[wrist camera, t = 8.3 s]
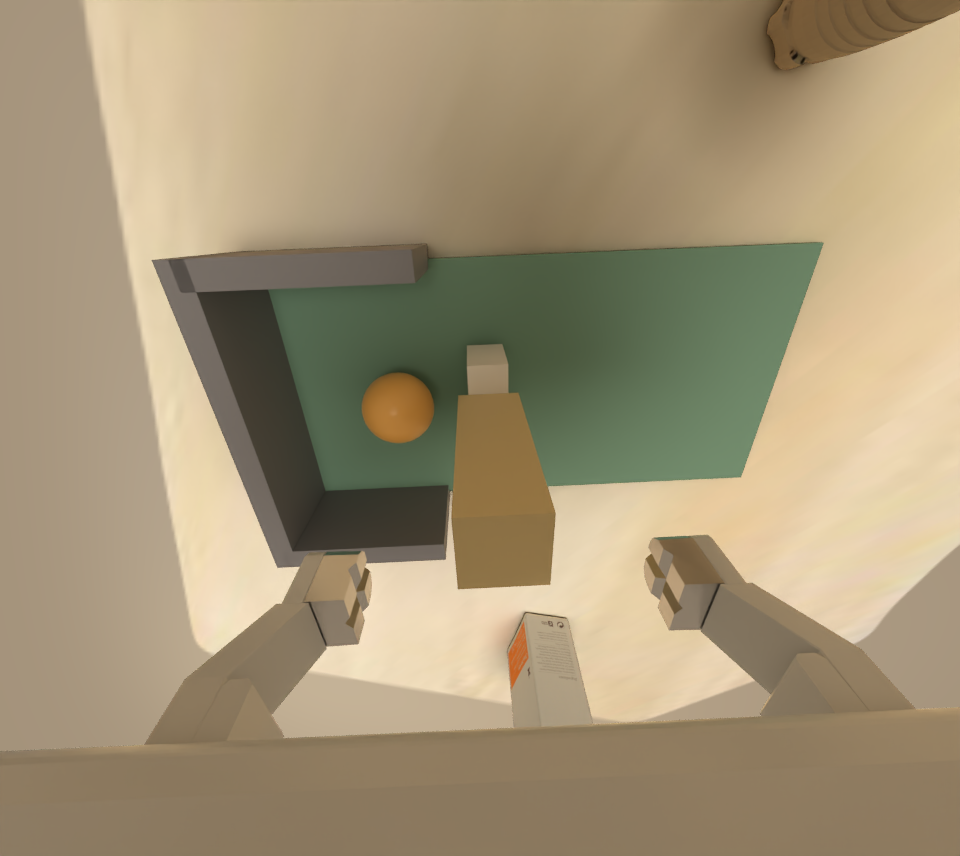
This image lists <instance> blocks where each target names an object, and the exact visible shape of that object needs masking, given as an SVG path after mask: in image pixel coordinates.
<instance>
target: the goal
mask: <svg viewBox="0 0 960 856" xmlns="http://www.w3.org/2000/svg"><path fill="white" fill-rule="evenodd" d="M427 259H428V252H427V244H411V245H387V246H362V247H338V248H314V249H290V250H265V251H241V252H229V253H219V254H209V255H199V256H189V257H179V258H169V259H159V260H152V262H153V264H154V267H155V269H156V272H157V274H158V277H159V279H160V282H161V284H162V286H163V289H164V291H165V294H166V296H167V299H168V301H169V304H170V306H171V308H172V311H173V313H174V316H175V318H176V321H177V323H178V326H179V328H180V330H181V333H182V335H183V338H184V340H185V343H186V345H187V348H188V350H189V352H190V355H191V357H192V360H193V362H194V365H195V367H196V370H197V372H198V374H199V377H200V379H201V382H202V384H203V387H204V389H205V392H206V394H207V397H208V399H209V401H210V404H211V406H212V409H213V411H214V414H215V416H216V419H217V421H218V423H219V426H220V428H221V431H222V433H223V436H224V438H225V441H226V443H227V445H228V448H229V450H230V453H231V455H232V458H233V460H234V463H235V465H236V467H237V470H238V472H239V475H240V477H241V480H242V482H243V485H244V487H245V489H246V492H247V494H248V497H249V499H250V502H251V504H252V507H253V509H254V511H255V514H256V516H257V519H258V521H259V524H260V526H261V529H262V531H263V533H264V536H265V538H266V541H267V543H268V546H269V548H270V551H271V553H272V555H273V558H274V560H275V563H276V565H277V568H280V567H300V566H301V564H302V562H303V559H304V557H305V556H306V555H307V554H308V553H309V552H337V551H363V552H365V555H366V559H367V561H366V563H384V562H405V561H425V560H446V547H447V532H448V517H449V502H450V491H449V486H448V485H440V486H419V487H398V488H376V489H355V490H333V491H325V487H324V484H323V480H322V477H321V473H320V470H319V466H318V463H317V459H316V456H315V452H314V449H313V445H312V442H311V438H310V435H309V431H308V428H307V424H306V421H305V417H304V414H303V410H302V407H301V403H300V400H299V396H298V393H297V389H296V386H295V382H294V379H293V375H292V371H291V368H290V364H289V361H288V357H287V354H286V350H285V347H284V343H283V340H282V336H281V333H280V329H279V326H278V322H277V319H276V315H275V312H274V308H273V305H272V301H271V298H270V294H269V291H268V289H287V288H311V287H334V286H358V285H382V284H406V283H416V282H417V281H418V280H419V279H420V278H421V277H422V276H423V275H424V273H425V272H426V271H427V270H428V260H427Z"/></svg>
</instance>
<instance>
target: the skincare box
mask: <svg viewBox="0 0 960 856" xmlns="http://www.w3.org/2000/svg"><path fill="white" fill-rule="evenodd" d="M507 653H508V665H509V677H510V689H511V700H512V712H513V724H514V728H518V727H540V726H561V725H583V724H593V721H592V716H591V712H590V708H589V704H588V700H587V696H586V692H585V688H584V684H583V680H582V676H581V672H580V668H579V663H578V659H577V655H576V651H575V647H574V643H573V639H572V635H571V631H570V626H569V622H568V620H567V619H565V618H559V617H551V616H545V615H538V614H531V613H525V615H524V617H523V620H522V622H521V624H520V626H519V628H518V631H517V633H516V635H515V637H514V639H513V641H512V643H511V645H510V646H509V648H508V650H507Z"/></svg>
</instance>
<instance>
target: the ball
mask: <svg viewBox="0 0 960 856" xmlns="http://www.w3.org/2000/svg"><path fill="white" fill-rule="evenodd" d="M362 415H363V419H364V421H365V423H366V425H367V427H368V428H369V430H370V431H371V432H372V433H373V434H374V435H375V436H377V437H378V438H380V439H382V440H384V441H387V442H391V443H406V442H410V441H412V440H415V439H416V438H418V437H420V436H421V435H422V434H423V433H424V432H425V431H426V430H427V429H428V427H429V425H430V424H431V421H432V419H433V415H434V402H433V398H432V395H431V393H430V391H429V389H428V388H427V386H426V385H425V384H424V383H423V382H422V381H421V380H419V379H418V378H416V377H414V376H412V375H410V374H407V373H400V372H396V373H388V374H385V375H383V376H381V377H379V378H377V379H376V380H375V381H373V382H372V383H371V384H370V386H369V387H368V388H367V390H366V392H365V394H364V396H363V400H362Z"/></svg>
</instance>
